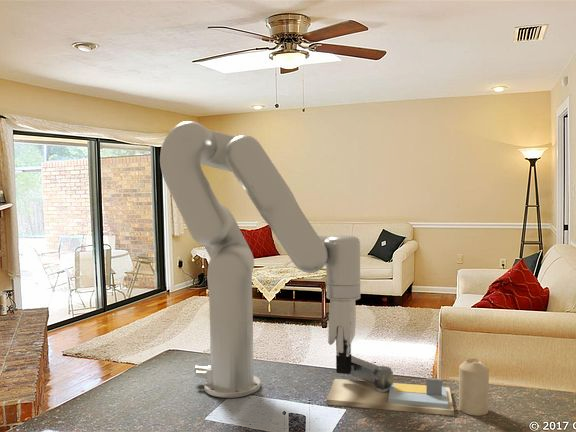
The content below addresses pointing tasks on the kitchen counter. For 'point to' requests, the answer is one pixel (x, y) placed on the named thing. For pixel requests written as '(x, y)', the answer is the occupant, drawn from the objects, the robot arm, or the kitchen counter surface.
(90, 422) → the kitchen counter surface
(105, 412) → the kitchen counter surface
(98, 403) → the kitchen counter surface
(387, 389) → the pivot post
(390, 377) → the latch bar
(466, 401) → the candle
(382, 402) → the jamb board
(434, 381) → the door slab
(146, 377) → the kitchen counter surface
